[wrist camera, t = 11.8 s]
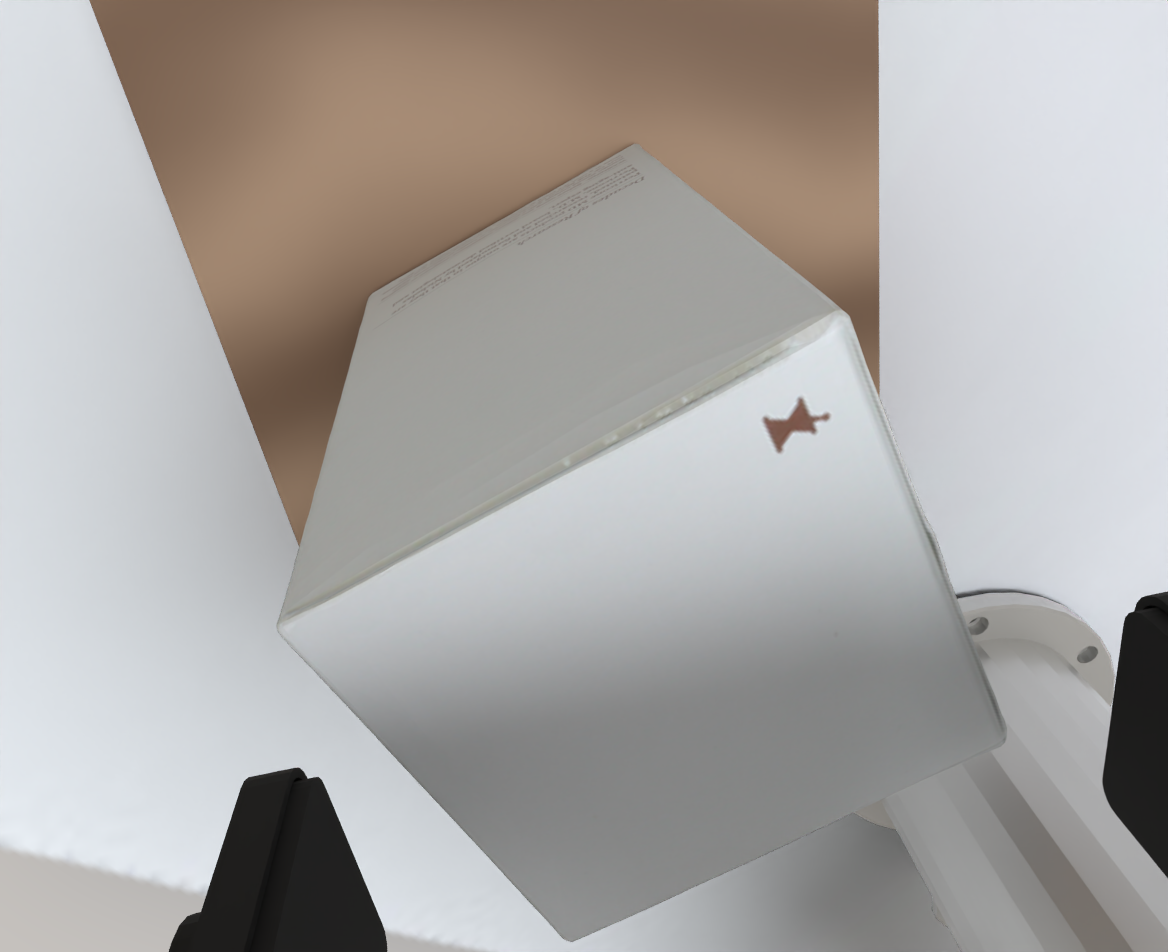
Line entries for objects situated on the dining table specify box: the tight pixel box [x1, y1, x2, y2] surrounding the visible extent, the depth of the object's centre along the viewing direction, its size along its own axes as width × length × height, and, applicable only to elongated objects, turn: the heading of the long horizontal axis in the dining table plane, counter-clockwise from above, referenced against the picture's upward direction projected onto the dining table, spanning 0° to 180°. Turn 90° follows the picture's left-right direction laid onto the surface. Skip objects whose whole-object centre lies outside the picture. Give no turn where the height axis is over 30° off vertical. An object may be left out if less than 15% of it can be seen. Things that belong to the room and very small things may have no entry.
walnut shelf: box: [90, 0, 879, 547], centre depth 25 cm, size 20×16×6 cm
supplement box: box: [277, 144, 1007, 942], centre depth 16 cm, size 7×7×13 cm
